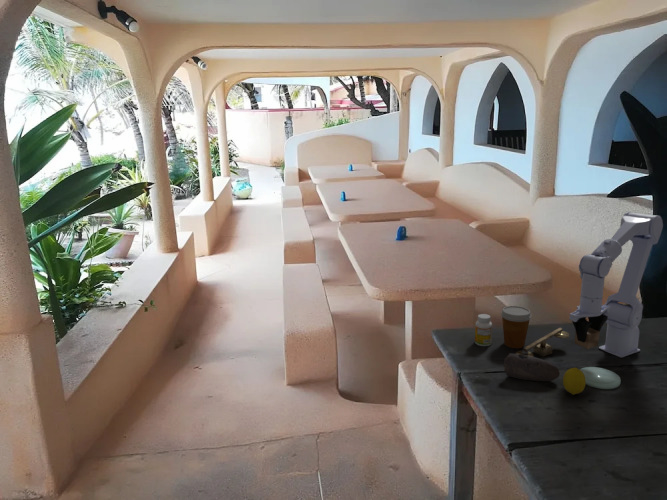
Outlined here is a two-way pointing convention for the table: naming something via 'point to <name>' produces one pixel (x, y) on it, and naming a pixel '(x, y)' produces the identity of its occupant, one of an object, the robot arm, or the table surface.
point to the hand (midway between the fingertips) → (587, 339)
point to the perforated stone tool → (530, 368)
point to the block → (589, 339)
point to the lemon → (574, 381)
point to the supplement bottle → (483, 330)
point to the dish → (601, 378)
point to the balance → (543, 344)
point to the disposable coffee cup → (515, 325)
